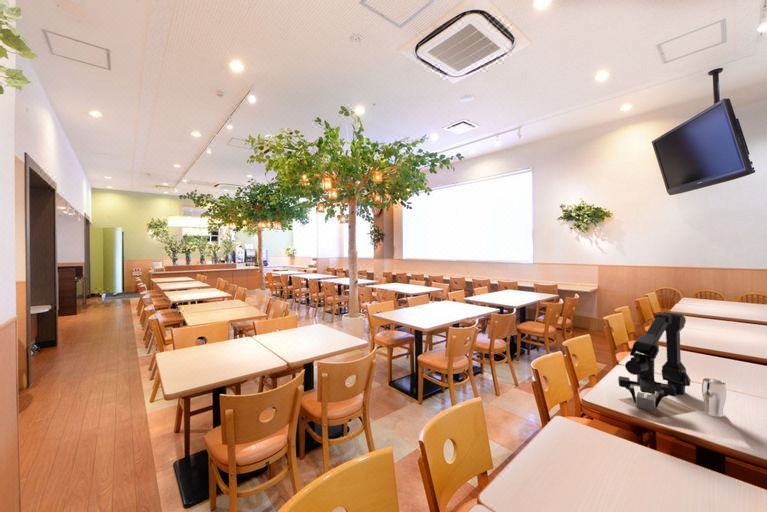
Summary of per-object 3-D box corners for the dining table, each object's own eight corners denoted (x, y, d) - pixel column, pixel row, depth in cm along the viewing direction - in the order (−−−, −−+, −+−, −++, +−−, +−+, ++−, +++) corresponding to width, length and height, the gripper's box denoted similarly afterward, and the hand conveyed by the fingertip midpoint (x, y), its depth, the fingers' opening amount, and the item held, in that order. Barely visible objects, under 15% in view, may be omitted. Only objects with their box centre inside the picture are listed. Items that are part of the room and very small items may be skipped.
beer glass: (718, 413, 133) (719, 378, 132) (730, 422, 126) (731, 386, 125) (697, 411, 135) (698, 376, 134) (708, 420, 128) (708, 383, 128)
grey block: (653, 411, 133) (653, 400, 133) (636, 406, 137) (636, 396, 137) (654, 405, 137) (654, 395, 137) (637, 401, 141) (637, 391, 141)
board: (657, 396, 148) (657, 393, 148) (697, 414, 133) (697, 410, 133) (618, 402, 144) (618, 399, 144) (655, 421, 128) (655, 418, 128)
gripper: (620, 371, 135) (619, 407, 135) (679, 381, 124) (678, 420, 125) (618, 363, 144) (618, 396, 145) (673, 371, 134) (672, 407, 134)
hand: (645, 405), depth 137 cm, fingers open, 7 cm apart
